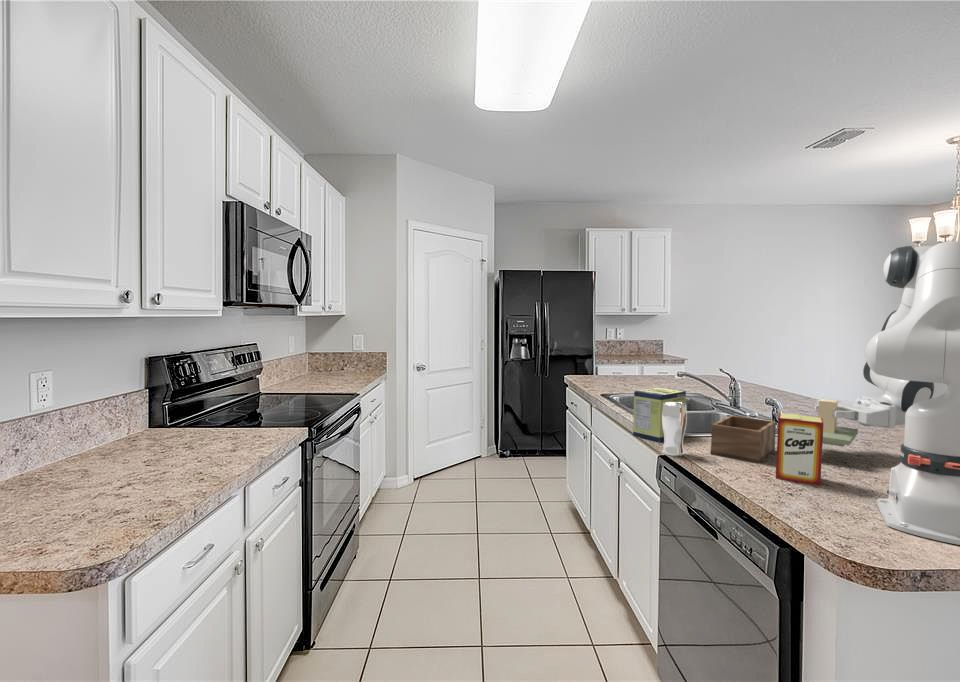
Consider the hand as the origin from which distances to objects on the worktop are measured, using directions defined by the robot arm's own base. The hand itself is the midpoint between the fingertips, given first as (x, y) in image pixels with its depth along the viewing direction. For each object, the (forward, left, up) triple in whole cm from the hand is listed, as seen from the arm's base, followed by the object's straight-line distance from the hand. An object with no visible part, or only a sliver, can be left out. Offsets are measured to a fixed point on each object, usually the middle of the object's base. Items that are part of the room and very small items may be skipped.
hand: (824, 411), depth 147 cm
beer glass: (-28, +33, -14) cm, 45 cm away
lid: (+1, -1, -8) cm, 8 cm away
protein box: (-10, +45, -14) cm, 48 cm away
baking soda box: (-28, +1, -14) cm, 31 cm away
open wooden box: (-12, +18, -13) cm, 26 cm away
